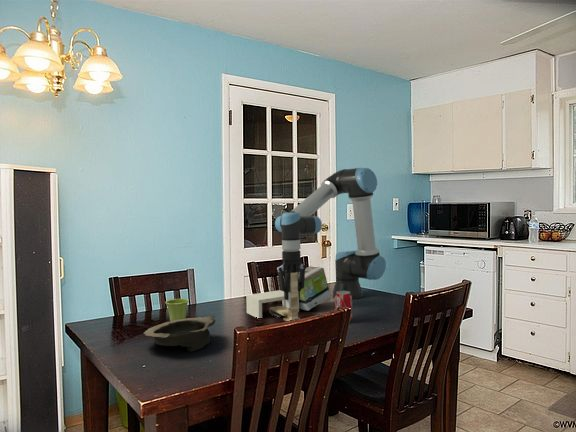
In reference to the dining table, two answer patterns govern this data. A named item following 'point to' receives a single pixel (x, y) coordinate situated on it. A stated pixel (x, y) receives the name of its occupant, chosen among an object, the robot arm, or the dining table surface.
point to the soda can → (343, 300)
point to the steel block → (276, 314)
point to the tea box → (313, 288)
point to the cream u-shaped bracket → (263, 301)
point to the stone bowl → (183, 332)
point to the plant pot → (177, 309)
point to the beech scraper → (293, 311)
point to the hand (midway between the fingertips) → (292, 306)
